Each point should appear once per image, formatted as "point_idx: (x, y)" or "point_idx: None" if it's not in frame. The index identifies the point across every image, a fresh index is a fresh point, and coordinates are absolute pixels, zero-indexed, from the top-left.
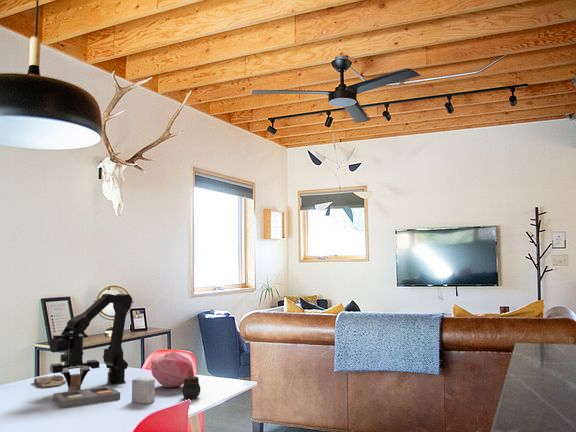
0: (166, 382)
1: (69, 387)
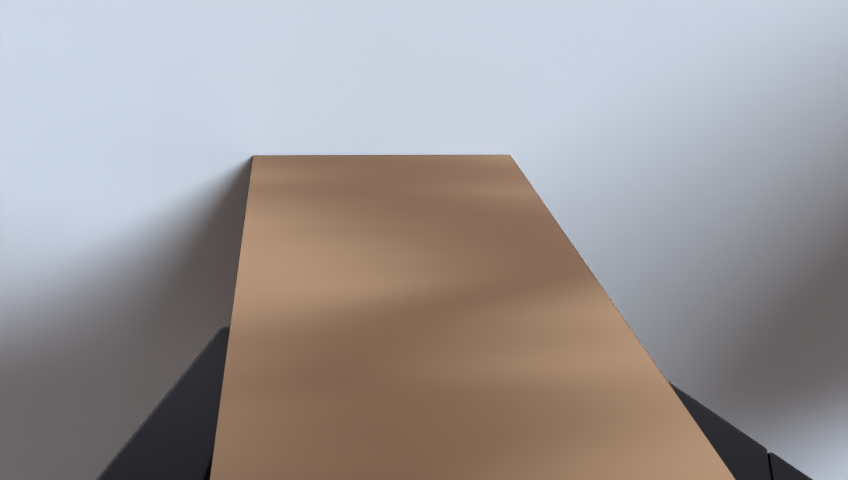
0: None
1: None
